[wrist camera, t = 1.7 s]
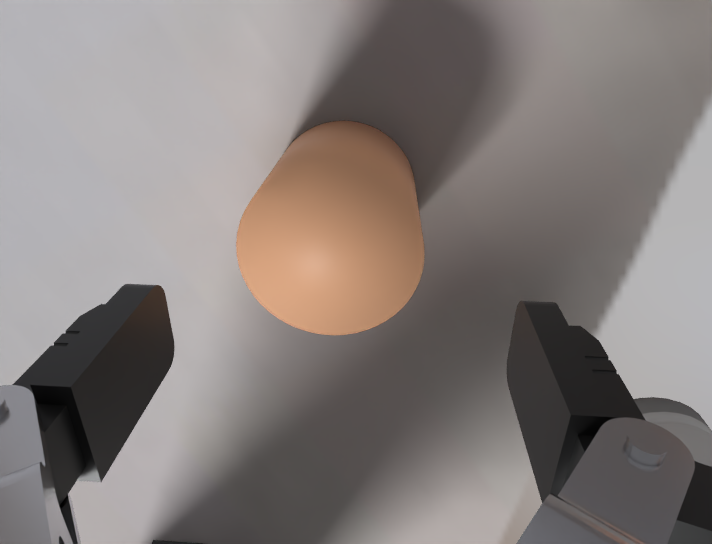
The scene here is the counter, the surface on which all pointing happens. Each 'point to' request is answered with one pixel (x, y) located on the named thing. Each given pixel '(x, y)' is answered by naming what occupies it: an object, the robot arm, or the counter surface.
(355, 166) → the terracotta drum
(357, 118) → the counter surface
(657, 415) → the travel mug
